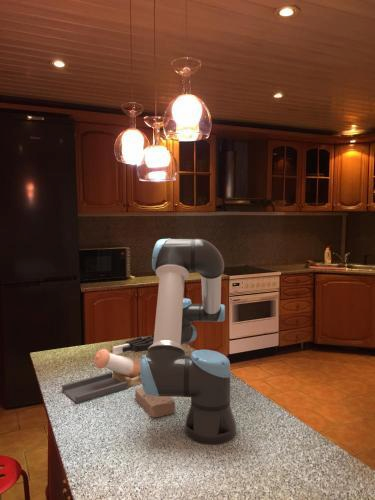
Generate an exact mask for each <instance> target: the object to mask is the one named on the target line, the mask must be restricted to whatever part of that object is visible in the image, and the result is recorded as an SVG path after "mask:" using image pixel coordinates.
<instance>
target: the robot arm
mask: <svg viewBox="0 0 375 500" xmlns="http://www.w3.org/2000/svg"><path fill="white" fill-rule="evenodd" d="M151 255H152V256H151V258H152V259H151V268H152V270H153V271H154V272H155V275H156V276H157V278H159V280H158V292H157V301H156V302H157V303H156V313H155V320H154V321H155V323H154V332H153V334H152V336H146V337H144V336H143V335H141V336H139V337H136V338H133V339H130V340H126V342H125V344H119V345H115V346H112V354H114V355H119V354H124V353H127V352H134V353H140V352H146V351H147V353H146V354H143V355H141V357H140V376H141V382H142V383H141V387H143V390H144V392H145V394H147V395H150V396H158V397H160V396H169V397H171V398H173V397H174V398H175V397H176V398H178V397H179V398H190V408H189V409H188V413H187V416H186V419H185V423H184V424H185V425H184V427H185V428H184V429H185V434H186V436H188V438H189V439H191V440H193V441H195V442H198V443H201V444H207V445H208V444H209V445H217V444H219V445H220V444H222V443H226V442H228V441H230V440H232V439H233V438H234V437H235V436H236V433H237V423H236V420H235V417H234V416H235V415H234V413H233V410H232V407H231V376H232V372H231V363H230V360H229V357H227V356H226V355H224V354H223V353H221V352H219V351H216V350H210V349H196V350H193V351H192V352H191V354H190V355H186V350H185V349H184V348H183V346H181V345H184V344H189V343H191V342H194V341H195V340H196V339H197V336H198V331H197V329H196V326H195V325H193V324H192V322H208V323H211V322H213V323H218V322H219V323H220V322H222V323H223V322H224V321H225V320H226V306H225V304H222V303H221V301H222V299H221V298H222V276H223V274H224V271H225V262H224V258H223V256H222V254H221V252H220V251H219V250H218V248H217V247H216V246H215V245H213V244H212V243H211V242H209V241H208V240H205V239H202V238H170V237H168V238H162V239H158V240H157V241H156V243H155V244H154V248H153V250H152V254H151ZM190 272H194V273H195V272H198V274H199V276H200V280H201V301H202V303H192V300H191V299H190V298H186V297H184V293H185V292H184V291H185V280H187V279H188V278H189V276H190Z"/></svg>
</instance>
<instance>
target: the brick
mask: <svg viewBox="0 0 375 500" xmlns="http://www.w3.org/2000/svg"><path fill="white" fill-rule="evenodd" d="M134 391H135V393H134V397H135V398H134V399H135V401H136V402H137V403H139V405H140V406H141V407H142V409H144V410H145V412H146V413H147V414H148V415H149V416H151V417H152V418H160V417H163V416H168V415H171V414H174V413H175V412H176V406H175V405H176V401H175V399H174V398H173V397H169V396H160V397H158V396H150V395H147V394H145V392H144V390H143V387H142V386H140V387H136V388H135V389H134Z"/></svg>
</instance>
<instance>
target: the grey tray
mask: <svg viewBox="0 0 375 500" xmlns="http://www.w3.org/2000/svg"><path fill="white" fill-rule="evenodd" d="M128 388H129V387H128V382H122V383H121V382H119V381H118V380H116V379H114V378H113V371H111V372H106V373H103V374H98V375H94V376H91V377H88V378H83V379H80V380H77V381H73V382H69V383H65V384H62V385H61V389H62V390H61V392H62V393H63V394H65V395H66V396H67V397H68V398H69V399H70V400H71V401H73V402H74V403H75V404H76V405H78V404H79V405H80V404H82V403H85V402H90V401H92V400H96V399H98V398H99V399H100V398H103V397H105V396H108V395H111V394H115V393H118V392H121V391H124V390H128Z"/></svg>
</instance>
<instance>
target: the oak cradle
mask: <svg viewBox="0 0 375 500" xmlns="http://www.w3.org/2000/svg"><path fill="white" fill-rule="evenodd" d="M112 373H113V378H114V379H116V380H118V381H119V382H121V383H122V382H128V388H131V387H134V386H138V385H142V382H141V375H138V376H137V377H135V378H130V377H127V376H126V375H124V374H120V373H117V372H115V371H113V370H112Z"/></svg>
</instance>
